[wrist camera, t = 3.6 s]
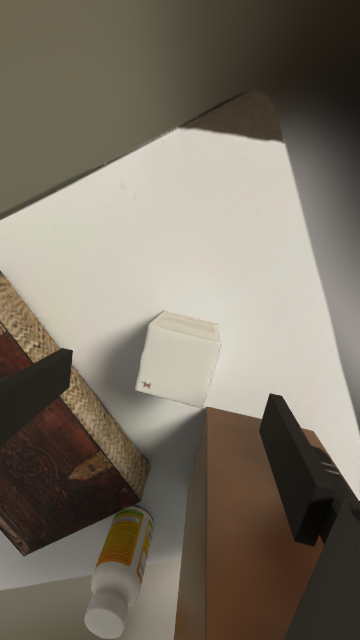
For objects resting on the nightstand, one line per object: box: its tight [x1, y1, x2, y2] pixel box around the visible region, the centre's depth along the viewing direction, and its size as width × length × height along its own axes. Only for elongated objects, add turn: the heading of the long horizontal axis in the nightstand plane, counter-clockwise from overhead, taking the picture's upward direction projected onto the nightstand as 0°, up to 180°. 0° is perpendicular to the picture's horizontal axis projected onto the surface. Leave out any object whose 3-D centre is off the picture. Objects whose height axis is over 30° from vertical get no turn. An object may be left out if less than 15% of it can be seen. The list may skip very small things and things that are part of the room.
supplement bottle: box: [84, 506, 153, 639], centre depth 28 cm, size 5×5×10 cm
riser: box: [174, 407, 359, 640], centre depth 19 cm, size 12×12×20 cm
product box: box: [135, 311, 221, 408], centre depth 23 cm, size 6×6×7 cm
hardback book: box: [0, 271, 151, 556], centre depth 28 cm, size 29×19×5 cm, turn 35°
